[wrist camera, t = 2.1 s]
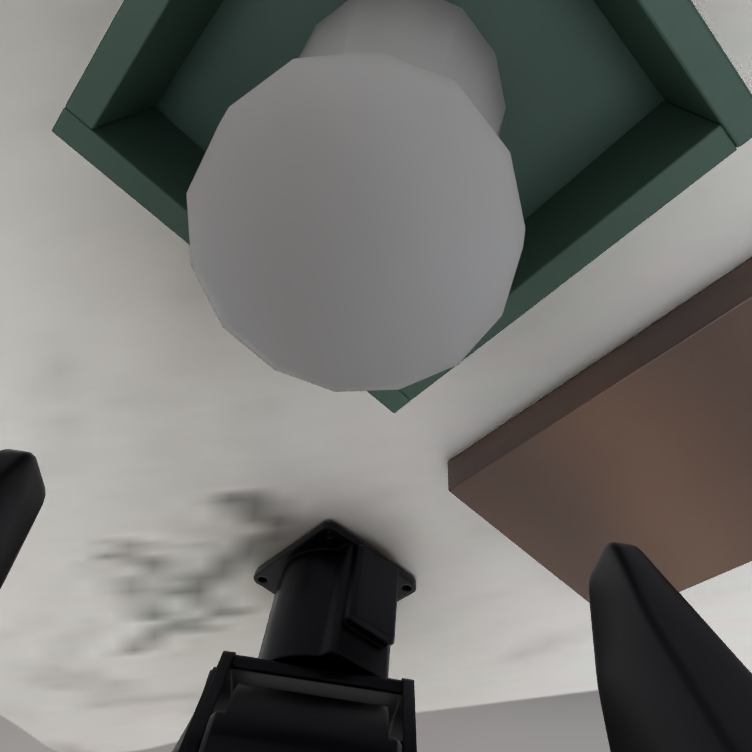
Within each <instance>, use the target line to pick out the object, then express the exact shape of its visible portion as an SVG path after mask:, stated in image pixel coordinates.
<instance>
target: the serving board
mask: <svg viewBox="0 0 752 752" xmlns="http://www.w3.org/2000/svg"><path fill="white" fill-rule="evenodd" d="M448 488H449V491H450V492H451V493H452V494H454V495H455V496H456V497H457V498H459V499H460V500H461V501H462V502H464V503H465V504H466V505H467V506H469V507H470V508H471V509H472V510H474V511H475V512H476V513H477V514H479V515H480V516H481V517H482V518H484V519H485V520H486V521H488V522H489V523H490V524H491V525H493V526H494V527H495V528H496V529H498V530H499V531H500V532H501V533H503V534H504V535H505V536H506V537H508V538H509V539H510V540H511V541H513V542H514V543H515V544H516V545H518V546H519V547H520V548H521V549H523V550H524V551H525V552H526V553H528V554H529V555H530V556H531V557H533V558H534V559H535V560H536V561H538V562H539V563H540V564H541V565H543V566H544V567H545V568H547V569H548V570H549V571H550V572H552V573H553V574H554V575H555V576H557V577H558V578H559V579H560V580H562V581H563V582H564V583H565V584H567V585H568V586H569V587H570V588H572V589H573V590H574V591H575V592H577V593H578V594H579V595H580V596H582V597H583V598H584V599H585V600H587V601H588V602H589V603H590V600H589V588H588V584H589V577H590V574H591V571H592V570H593V568H594V566H595V564H596V562H597V561H598V559H599V557H600V555H601V553H602V552H603V550H604V548H605V547H606V545H607V544H609V543H611V542H616V543H623V544H629V545H634V546H636V547H638V548H639V549H640V550H641V551H642V552H643V553H644V554H645V555H646V556H647V557H648V558H649V560H650V561H651V562H652V563H653V564H654V565H655V566H656V567H657V568H658V570H659V571H660V572H661V573H662V574H663V575H664V576H665V577H666V579H667V580H668V581H669V582H670V583H671V584H672V585H673V586H674V587H675V589H676V590H677V591H678V592H680V591H682V590H685V589H687V588H689V587H692V586H694V585H696V584H699V583H701V582H704V581H706V580H708V579H711V578H713V577H715V576H718V575H720V574H722V573H725V572H727V571H729V570H732V569H734V568H736V567H739V566H741V565H743V564H746V563H748V562H750V561H752V258H751V259H750V260H748V261H747V262H745V263H744V264H742V265H741V266H739V267H738V268H736V269H735V270H733V271H732V272H730V273H729V274H727V275H726V276H724V277H723V278H721V279H720V280H718V281H717V282H715V283H714V284H712V285H711V286H709V287H708V288H706V289H705V290H704V291H702V292H701V293H699V294H698V295H696V296H695V297H693V298H692V299H690V300H689V301H687V302H686V303H684V304H683V305H681V306H680V307H678V308H677V309H675V310H674V311H672V312H671V313H669V314H668V315H666V316H665V317H663V318H662V319H660V320H659V321H657V322H656V323H654V324H653V325H651V326H650V327H648V328H647V329H645V330H644V331H642V332H641V333H640V334H638V335H637V336H635V337H634V338H632V339H631V340H629V341H628V342H626V343H625V344H623V345H622V346H620V347H619V348H617V349H616V350H614V351H613V352H611V353H610V354H608V355H607V356H605V357H604V358H602V359H601V360H599V361H598V362H596V363H595V364H593V365H592V366H590V367H589V368H587V369H586V370H584V371H583V372H581V373H580V374H578V375H577V376H576V377H574V378H573V379H571V380H570V381H568V382H567V383H565V384H564V385H562V386H561V387H559V388H558V389H556V390H555V391H553V392H552V393H550V394H549V395H547V396H546V397H544V398H543V399H541V400H540V401H538V402H537V403H535V404H534V405H532V406H531V407H529V408H528V409H526V410H525V411H523V412H522V413H520V414H519V415H517V416H516V417H515V418H513V419H512V420H510V421H509V422H507V423H506V424H504V425H503V426H501V427H500V428H498V429H497V430H495V431H494V432H492V433H491V434H489V435H488V436H486V437H485V438H483V439H482V440H480V441H479V442H477V443H476V444H474V445H473V446H471V447H470V448H468V449H467V450H465V451H464V452H462V453H461V454H459V455H458V456H456V457H455V458H453V459H452V460H451V461H449V462H448Z"/></svg>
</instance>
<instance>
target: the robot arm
mask: <svg viewBox="0 0 752 752" xmlns="http://www.w3.org/2000/svg"><path fill="white" fill-rule="evenodd" d="M44 499H45V486H44V483H43V479H42V476H41V473H40V469H39V466H38V463H37V460H36V457H35V456H34V455H33V454H32V453H30V452H25V451H18V450H12V449H5V450H1V451H0V588H1V587H2V585H3V583H4V581H5V579H6V577H7V575H8V573H9V571H10V569H11V567H12V565H13V563H14V561H15V559H16V557H17V555H18V553H19V551H20V549H21V547H22V545H23V543H24V541H25V539H26V537H27V535H28V533H29V531H30V529H31V527H32V525H33V523H34V521H35V519H36V517H37V515H38V513H39V511H40V509H41V507H42V505H43V502H44ZM328 531H330V532H328ZM254 580H255V582H256V583H258V584H259V585H261V586H262V587H264V588H266V589H267V590H269V591H271V592H272V593H274V594H275V597H274V601H273V604H272V608H271V612H270V616H269V619H268V623H267V627H266V631H265V634H264V638H263V642H262V646H261V649H260V653H259V657H258V658H254V657H247V656H241V655H236V652H229V651H223V654H222V656H221V658H220V661H219V663H218V665H217V667H214V668H213V670H211V671H210V672H209V675H208V678H207V681H206V684H205V687H204V690H203V693H202V696H201V698H200V700H199V703H198V705H197V707H196V710H195V712H194V714H193V717H192V718H191V720H190V722H189V723H188V725H187V727H186V729H185V730H184V732H183V734H182V736H181V737H180V739H179V741H178V743H177V744H176V746H175V748H174V750H173V751H172V752H417V746H416V720H415V693H414V680H411V679H405V678H402V680H397V679H390V678H388V670H389V655H390V646H391V645H392V644H394V639H395V623H396V606H397V601H399V600H401V599H403V598H404V597H406V596H408V595H410V594H412V593H413V592H415V590H416V580H415V579H414V578H413V577H412V576H410V575H409V574H407V573H406V572H404V571H403V570H402V569H400V568H399V567H397V566H396V565H394V564H393V563H392V562H390V561H389V560H387V559H386V558H384V557H383V556H382V555H380V554H379V553H377V552H376V551H374V550H373V549H372V548H370V547H369V546H367V545H366V544H364V543H363V542H362V541H360V540H359V539H357V538H356V537H354V536H353V535H352V534H350V533H349V532H347V531H346V530H344V529H343V528H342V527H340V526H339V525H337V524H335V523H333V522H325V523H322V524H321V525H320V526H318V527H317V528H315V529H314V530H312V531H311V532H310V533H308V534H307V535H305V536H304V537H302V538H301V539H300V540H298V541H297V542H295V543H294V544H292V545H291V546H290V547H288V548H287V549H285V550H284V551H282V552H281V553H280V554H278V555H277V556H275V557H274V558H272V559H271V560H270V561H268V562H267V563H265V564H264V565H262V566H261V567H260V568H258V569H257V570H256V572H255V576H254ZM588 588H589V600H590V611H591V622H592V632H593V643H594V654H595V665H596V674H597V683H598V690H599V694H600V700H601V706H602V711H603V715H604V721H605V726H606V731H607V735H608V741H609V746H610V751H611V752H752V673H751V672H750V671H749V670H748V669H747V668H746V667H745V666H744V665H743V663H742V662H741V661H740V660H739V659H738V658H737V657H736V656H735V654H734V653H733V652H732V651H731V650H730V649H729V648H728V647H727V646H726V644H725V643H724V642H723V641H722V640H721V639H720V638H719V637H718V635H717V634H716V633H715V632H714V631H713V630H712V629H711V628H710V627H709V625H708V624H707V623H706V622H705V621H704V620H703V619H702V618H701V617H700V615H699V614H698V613H697V612H696V611H695V610H694V609H693V608H692V606H691V605H690V604H689V603H688V602H687V601H686V600H685V599H684V598H683V596H682V595H681V594H680V593H679V592H678V591H677V590H676V589H675V587H674V586H673V585H672V584H671V583H670V582H669V581H668V580H667V579H666V577H665V576H664V575H663V574H662V573H661V572H660V571H659V570H658V568H657V567H656V566H655V565H654V564H653V563H652V562H651V561H650V560H649V558H648V557H647V556H646V555H645V554H644V553H643V552H642V551H641V550H640V549H639V548H638V547H636V546H634V545H629V544H623V543H616V542H611V543H609V544H607V545H606V547H605V548H604V550H603V552H602V553H601V555H600V557H599V559H598V561H597V562H596V564H595V566H594V568H593V570H592V571H591V574H590V577H589V584H588Z"/></svg>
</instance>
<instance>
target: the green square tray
mask: <svg viewBox="0 0 752 752" xmlns="http://www.w3.org/2000/svg"><path fill="white" fill-rule="evenodd" d="M346 1H348V0H124V2H123V4H122V5H121V7H120V9H119V11H118V12H117V14H116V16H115V18H114V20H113V21H112V23H111V25H110V27H109V29H108V30H107V32H106V34H105V36H104V38H103V39H102V41H101V43H100V45H99V46H98V48H97V50H96V52H95V54H94V55H93V57H92V59H91V61H90V63H89V64H88V66H87V68H86V70H85V72H84V73H83V75H82V77H81V79H80V81H79V82H78V84H77V86H76V88H75V89H74V91H73V93H72V95H71V97H70V98H69V100H68V102H67V104H66V107H65V108H64V109H63V111H62V113H61V114H60V116H59V118H58V120H57V122H56V123H55V125H54V127H53V129H52V131H53V132H54V133H55V134H56V135H57V136H58V137H60V138H61V139H62V140H63V141H64V142H66V143H67V144H68V145H69V146H71V147H72V148H73V149H74V150H75V151H77V152H78V153H79V154H80V155H81V156H83V157H84V158H85V159H86V160H87V161H89V162H90V163H91V164H92V165H94V166H95V167H96V168H97V169H98V170H100V171H101V172H102V173H103V174H104V175H106V176H107V177H108V178H109V179H111V180H112V181H113V182H114V183H115V184H117V185H118V186H119V187H120V188H121V189H123V190H124V191H125V192H126V193H128V194H129V195H130V196H131V197H132V198H134V199H135V200H136V201H137V202H138V203H140V204H141V205H142V206H143V207H144V208H146V209H147V210H148V211H149V212H151V213H152V214H153V215H154V216H155V217H157V218H158V219H159V220H160V221H161V222H163V223H164V224H165V225H166V226H168V227H169V228H170V229H171V230H172V231H174V232H175V233H176V234H177V235H178V236H180V237H181V238H182V239H183V240H185V241H186V242H187V243H188V244H189V245H190V239H189V224H188V210H187V195H186V193H187V191H188V189H189V187H190V185H191V182H192V180H193V178H194V176H195V174H196V172H197V170H198V168H199V166H200V163H201V161H202V159H203V157H204V155H205V153H206V151H207V149H208V146H209V144H210V142H211V140H212V138H213V136H214V134H215V132H216V129H217V127H218V125H219V123H220V122H221V120H222V118H223V116H224V115H225V113H226V111H227V109H228V108H229V106H231V105H232V104H234V103H235V102H236V101H238V100H239V99H240V98H242V97H243V96H244V95H246V94H247V93H248V92H250V91H251V90H252V89H254V88H255V87H256V86H258V85H259V84H260V83H262V82H263V81H264V80H266V79H267V78H268V77H270V76H271V75H272V74H274V73H275V72H276V71H278V70H279V69H280V68H282V67H283V66H284V65H286V64H287V63H289V62H290V61H291V60H293V59H296V58H299V56H300V54H301V53H302V51H303V49H304V47H305V45H306V43H307V41H308V39H309V37H310V36H311V34H312V32H313V30H314V28H315V26H316V24H318V23H319V22H320V21H322V20H323V19H324V18H326V17H327V16H328V15H329V14H331V13H332V12H333V11H335V10H336V9H337V8H339V7H340V6H341V5H342V4H344V3H345V2H346ZM445 1H447V2H450V3H452V4H454V5H456V6H459V7H461V8H463V9H464V11H465V12H466V14H467V15H468V16H469V18H470V19H471V20H472V22H473V23H474V25H475V26H476V27H477V29H478V30H479V31H480V33H481V34H482V35H483V37H484V38H485V40H486V41H487V42H488V44H489V45H490V46H491V48H492V49H493V51H494V52H495V53H496V58H497V63H498V69H499V74H500V79H501V85H502V90H503V95H504V101H505V106H506V109H505V113H504V117H503V121H502V125H501V129H500V133H499V138H500V140H501V141H502V142H503V144H504V145H505V146H506V147H507V149H508V150H509V151H510V154H511V159H512V164H513V169H514V174H515V179H516V184H517V189H518V194H519V199H520V204H521V209H522V214H523V219H524V224H525V236H524V243H523V249H522V252H521V255H520V259H519V262H518V265H517V268H516V272H515V275H514V278H513V282H512V285H511V288H510V291H509V295H508V298H507V301H506V304H505V308H504V311H503V314H502V316H501V317H500V318H499V319H498V320H497V322H496V323H495V324H494V325H493V326H492V327H491V328H490V329H489V331H488V332H487V333H486V334H485V335H484V336H483V337H482V338H481V340H480V341H479V342H478V343H477V344H476V345H475V346H474V347H473V348H472V350H471V351H470V352H469V353H468V354H467V355H466V356H465V357H464V359H465V358H466V357H468V356H469V355H470V354H472V353H473V352H474V351H476V350H477V349H478V348H479V347H481V346H482V345H483V344H485V343H486V342H487V341H489V340H490V339H491V338H492V337H494V336H495V335H496V334H498V333H499V332H500V331H502V330H503V329H504V328H505V327H507V326H508V325H509V324H511V323H512V322H513V321H515V320H516V319H517V318H518V317H520V316H521V315H522V314H524V313H525V312H526V311H528V310H529V309H530V308H531V307H533V306H534V305H535V304H537V303H538V302H539V301H541V300H542V299H543V298H544V297H546V296H547V295H548V294H550V293H551V292H552V291H554V290H555V289H556V288H557V287H559V286H560V285H561V284H563V283H564V282H565V281H567V280H568V279H569V278H570V277H572V276H573V275H574V274H576V273H577V272H578V271H580V270H581V269H582V268H583V267H585V266H586V265H587V264H589V263H590V262H591V261H593V260H594V259H595V258H596V257H598V256H599V255H600V254H602V253H603V252H604V251H606V250H607V249H608V248H609V247H611V246H612V245H613V244H615V243H616V242H617V241H619V240H620V239H621V238H622V237H624V236H625V235H626V234H628V233H629V232H630V231H632V230H633V229H634V228H635V227H637V226H638V225H639V224H641V223H642V222H643V221H645V220H646V219H647V218H649V217H650V216H651V215H652V214H654V213H655V212H656V211H658V210H659V209H660V208H662V207H663V206H664V205H665V204H667V203H668V202H669V201H671V200H672V199H673V198H675V197H676V196H677V195H678V194H680V193H681V192H682V191H684V190H685V189H686V188H688V187H689V186H690V185H691V184H693V183H694V182H695V181H697V180H698V179H699V178H701V177H702V176H703V175H704V174H706V173H707V172H708V171H710V170H711V169H712V168H714V167H715V166H716V165H717V164H719V163H720V162H721V161H723V160H724V159H725V158H727V157H728V156H729V155H730V154H732V153H733V152H734V151H736V147H739V146H741V145H743V144H744V143H745V142H747V141H748V140H749V139H751V138H752V94H751V93H750V91H749V89H748V88H747V86H746V85H745V83H744V82H743V80H742V79H741V77H740V76H739V74H738V72H737V71H736V69H735V68H734V66H733V65H732V63H731V62H730V60H729V59H728V57H727V55H726V54H725V52H724V51H723V49H722V48H721V46H720V45H719V43H718V42H717V40H716V38H715V37H714V35H713V34H712V32H711V31H710V29H709V28H708V26H707V25H706V23H705V21H704V20H703V18H702V17H701V15H700V14H699V12H698V11H697V9H696V8H695V6H694V4H693V3H692V1H691V0H445ZM464 359H463V360H464ZM463 360H462V361H463ZM454 367H455V366H454ZM452 368H453V367H451V368H449V369H447V370H444V371H442V372H439V373H437V374H435V375H432V376H430V377H428V378H425V379H423V380H420V381H418V382H416V383H413V384H411V385H409V386H406V387H404V388H402V389H399V390H373V391H368V392H369V393H370V394H371V395H372V396H374V397H375V398H376V399H377V400H379V401H380V402H381V403H382V404H383V405H385V406H386V407H387V408H388V409H389V410H391V411H392V412H393V413H395V412H396V411H398V410H399V409H400V408H402V407H403V406H404V405H406V404H407V403H408V402H409V401H410V400H411V399H413V398H414V397H416V396H417V395H418V394H420V393H421V392H422V391H424V390H425V389H426V388H427V387H429V386H430V385H431V384H433V383H434V382H435V381H437V380H438V379H439V378H440V377H442V376H443V375H444V374H446V373H447V372H448V371H450V370H451V369H452Z"/></svg>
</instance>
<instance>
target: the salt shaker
mask: <svg viewBox="0 0 752 752" xmlns="http://www.w3.org/2000/svg"><path fill="white" fill-rule="evenodd" d="M505 109H506V106H505V101H504V95H503V90H502V85H501V79H500V74H499V69H498V63H497V58H496V53H495V52H494V51H493V49H492V48H491V46H490V45H489V44H488V42H487V41H486V40H485V38H484V37H483V35H482V34H481V33H480V31H479V30H478V29H477V27H476V26H475V25H474V23H473V22H472V20H471V19H470V18H469V16H468V15H467V14H466V12H465V11H464V9H463V8H461V7H459V6H456V5H454V4H452V3H450V2H447V1H445V0H348V1H346V2H345V3H344V4H342V5H341V6H340V7H339V8H337V9H336V10H335V11H333V12H332V13H331V14H329V15H328V16H327V17H326V18H324V19H323V20H322V21H320V22H319V23H318V24H316V26H315V28H314V30H313V32H312V34H311V36H310V37H309V39H308V41H307V43H306V45H305V47H304V49H303V51H302V53H301V54H300V56H299V58H296V59H293V60H291V61H290V62H289V63H287V64H286V65H284V66H283V67H282V68H280V69H279V70H278V71H276V72H275V73H274V74H272V75H271V76H270V77H268V78H267V79H266V80H264V81H263V82H262V83H260V84H259V85H258V86H256V87H255V88H254V89H252V90H251V91H250V92H248V93H247V94H246V95H244V96H243V97H242V98H240V99H239V100H238V101H236V102H235V103H234V104H232V105H231V106H229V108H228V109H227V111H226V113H225V115H224V116H223V118H222V120H221V122H220V123H219V125H218V127H217V129H216V132H215V134H214V136H213V138H212V140H211V142H210V144H209V146H208V149H207V151H206V153H205V155H204V157H203V159H202V161H201V163H200V166H199V168H198V170H197V172H196V174H195V176H194V178H193V180H192V182H191V185H190V187H189V189H188V191H187V193H186V195H187V210H188V224H189V239H190V254H191V266H192V268H193V270H194V272H195V274H196V276H197V278H198V280H199V282H200V283H201V285H202V287H203V289H204V291H205V293H206V295H207V297H208V299H209V301H210V303H211V305H212V307H213V309H214V311H215V313H216V315H217V317H218V319H219V321H220V323H221V324H222V326H223V328H225V329H226V330H227V331H228V332H229V333H231V334H232V335H233V336H234V337H235V338H237V339H238V340H239V341H240V342H242V343H243V344H244V345H245V346H246V347H248V348H249V349H250V350H251V351H252V352H254V353H255V354H256V355H257V356H258V357H260V358H261V359H262V360H263V361H264V362H266V363H267V364H268V365H269V366H270V367H272V368H273V369H274V370H277V371H279V372H282V373H285V374H288V375H290V376H293V377H296V378H299V379H301V380H304V381H307V382H310V383H312V384H315V385H318V386H321V387H323V388H326V389H329V390H332V391H334V392H344V391H373V390H399V389H402V388H404V387H406V386H409V385H411V384H413V383H416V382H418V381H420V380H423V379H425V378H428V377H430V376H432V375H435V374H437V373H439V372H442V371H444V370H447V369H449V368H451V367H454V366H456V365H458V364H459V363H460V362H461V361H462V360H463V359H464V357H465V356H466V355H467V354H468V353H469V352H470V351H471V350H472V348H473V347H474V346H475V345H476V344H477V343H478V342H479V341H480V340H481V338H482V337H483V336H484V335H485V334H486V333H487V332H488V331H489V329H490V328H491V327H492V326H493V325H494V324H495V323H496V322H497V320H498V319H499V318H500V317H501V316H502V314H503V311H504V308H505V304H506V301H507V298H508V295H509V291H510V288H511V285H512V282H513V278H514V275H515V272H516V268H517V265H518V262H519V259H520V255H521V252H522V249H523V243H524V236H525V224H524V219H523V214H522V209H521V204H520V199H519V194H518V189H517V184H516V179H515V174H514V169H513V164H512V159H511V154H510V151H509V150H508V149H507V147H506V146H505V145H504V144H503V142H502V141H501V140H500V138H499V133H500V129H501V125H502V121H503V117H504V113H505Z"/></svg>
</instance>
